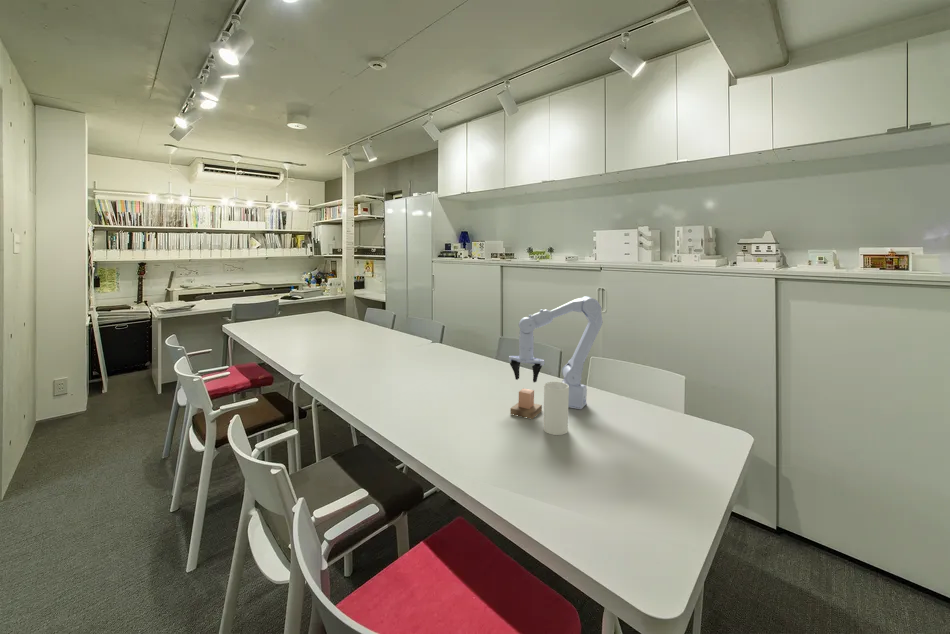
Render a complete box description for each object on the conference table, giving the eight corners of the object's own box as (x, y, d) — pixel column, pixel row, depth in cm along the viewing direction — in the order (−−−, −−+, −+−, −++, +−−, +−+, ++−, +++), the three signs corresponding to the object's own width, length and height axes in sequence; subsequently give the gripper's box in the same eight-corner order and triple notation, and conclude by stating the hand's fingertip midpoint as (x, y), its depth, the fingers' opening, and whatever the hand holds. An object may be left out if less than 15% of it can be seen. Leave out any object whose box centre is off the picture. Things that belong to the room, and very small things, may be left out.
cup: (564, 424, 144) (565, 381, 141) (570, 434, 136) (571, 389, 133) (541, 425, 144) (542, 381, 141) (546, 435, 136) (547, 389, 133)
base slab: (541, 412, 157) (541, 404, 156) (532, 420, 149) (532, 412, 148) (520, 408, 161) (520, 400, 161) (510, 415, 154) (510, 408, 153)
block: (533, 405, 156) (534, 390, 155) (529, 409, 152) (529, 393, 151) (522, 402, 158) (523, 388, 157) (518, 406, 154) (518, 391, 153)
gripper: (505, 347, 161) (505, 380, 163) (540, 351, 154) (539, 385, 156) (512, 344, 167) (512, 375, 169) (546, 347, 160) (545, 380, 162)
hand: (526, 380), depth 163 cm, fingers open, 7 cm apart
